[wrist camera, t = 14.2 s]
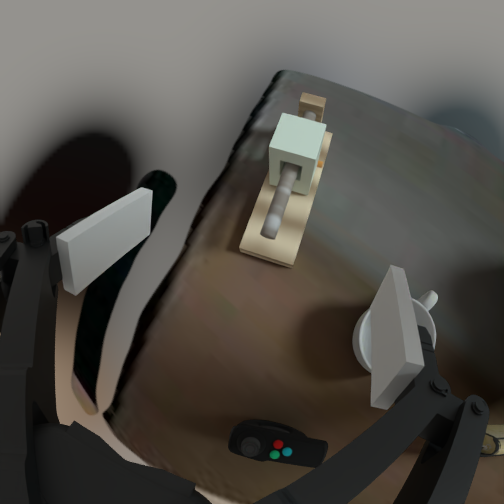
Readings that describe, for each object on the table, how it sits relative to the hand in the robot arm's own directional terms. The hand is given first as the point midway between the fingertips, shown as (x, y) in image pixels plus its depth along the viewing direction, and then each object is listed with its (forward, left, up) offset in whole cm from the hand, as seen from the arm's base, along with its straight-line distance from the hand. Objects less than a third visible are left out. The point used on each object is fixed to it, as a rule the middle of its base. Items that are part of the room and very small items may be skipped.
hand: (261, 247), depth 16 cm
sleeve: (-11, -18, -27) cm, 34 cm away
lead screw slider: (-10, -16, -30) cm, 35 cm away
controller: (+4, +18, -30) cm, 35 cm away
